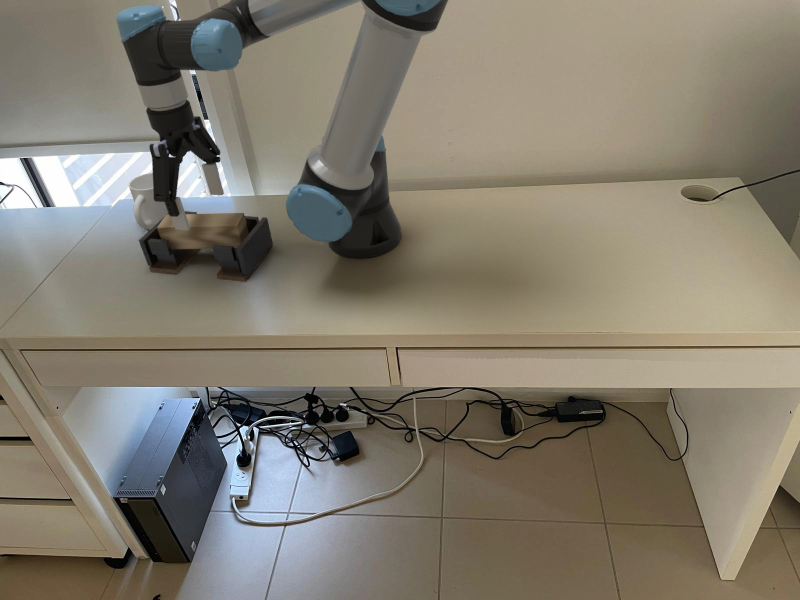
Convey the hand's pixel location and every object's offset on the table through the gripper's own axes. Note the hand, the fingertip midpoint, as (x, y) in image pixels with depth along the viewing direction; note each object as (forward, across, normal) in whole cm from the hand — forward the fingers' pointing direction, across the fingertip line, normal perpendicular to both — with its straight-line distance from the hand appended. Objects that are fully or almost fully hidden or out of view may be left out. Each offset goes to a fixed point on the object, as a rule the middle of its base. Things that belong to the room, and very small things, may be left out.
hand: (200, 211), depth 124 cm
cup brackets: (+11, 0, -1) cm, 11 cm away
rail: (+7, 0, -1) cm, 7 cm away
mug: (+11, -10, -20) cm, 25 cm away
